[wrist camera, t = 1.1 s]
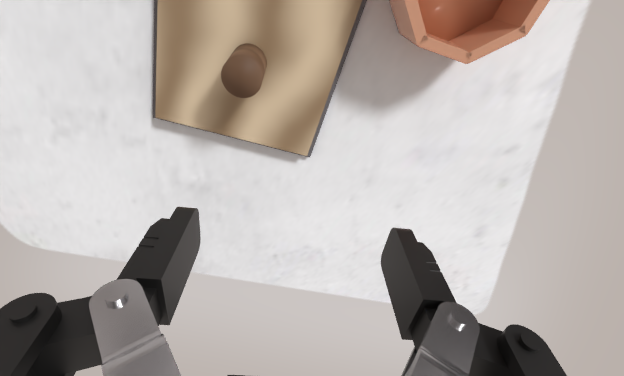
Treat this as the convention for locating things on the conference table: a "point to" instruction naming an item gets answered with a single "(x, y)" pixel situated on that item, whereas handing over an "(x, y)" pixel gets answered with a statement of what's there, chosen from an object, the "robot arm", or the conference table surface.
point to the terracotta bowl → (465, 24)
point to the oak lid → (250, 66)
